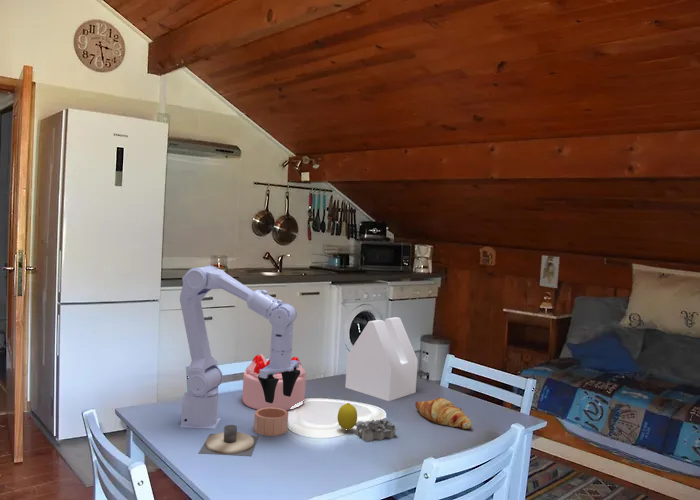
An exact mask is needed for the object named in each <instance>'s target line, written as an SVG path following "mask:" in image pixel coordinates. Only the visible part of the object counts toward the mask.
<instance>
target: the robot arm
mask: <svg viewBox="0 0 700 500" xmlns="http://www.w3.org/2000/svg"><path fill="white" fill-rule="evenodd" d="M181 280H182V287H181V292H180V294H179V303H180V308H181V313H182V316H183V317H182V318H183V323H184V329H185V334H186V338H187V344H188V348H189V354H190V358H191V362H190V364H189V367H188V369H187V372H188V379H187V389H188V390H189V391H186V392H184V394H183V397H182V402H181V413H180V414H181V416H180V417H181V418H180V419H181V421H180V426H179V427H180V428H185V429H186V428H187V429H203V430H204V429H205V430H206V429H207V430H215V429H216V428H217V427H218V425H219V423H220V421H221V417H218V404H219V403H218V402H219V401H218V400H219V386H221V384H222V382H223V380H224V379H223V378H224V376H223V372H222V370H221V369H220V367H219V365H218V361H217V360H216V359H215V358H214V357H213V356H212V352H211V348H210V341H209V337H208V332H207V327H206V321H205V317H204V311H203V307H202V301H203V299H204V298H205V297H206V295H207V294H208V292H210V291H211V290H215V289H216V290H217V289H220V290H224V291H226V292H227V293H229V294H232V295H233V296H235V297H236V298H237V297H238V299H241V300H242V301H244V302H246V304H247V307H248V309H250V310H251V311H253V312H254V313H257V314H258V315H259V316H261V317H263V318H264V319H267V320H269V323H270V325H271V335H270V337H271V339H270V352H269V355H270V356H269V359H270V364H269V365H268V366H266V367H265V368H263V369H261V370H260V375H258V380H259V381H260V383H261V385H262V388H263V392H264V396H265V401H266V402H268V403H273V401H274V395H275V389H276V385H277V383H278V381H279V379H276V378H274V377H273V375H275V374H278V373H281V374H282V379H283V395H285V396H288V397H290V396H291V394H292V391H293V387H294V384H295V382H296V380H297V378H298V376H299V375H300V370H297V369H298V368H299V361H300V360H299V361H296V360H292V361H291V358H293V357H292V355H293V354H292V353H293V339H294V337H293V336H294V322H295V320H296V319H297V316H298V314H297V313H298V312H297V309H296V308H295V307H294V306H293V305H292V304H291V303H289V302H284V303H283V300H281V299H277V298H275V297H273V296H271V295H270V294H268V293H269V292H268V290H266V289H262V290H261V289H256V290H252V289H251V288H249V287H248V286H246V285H245V284H243V283H242V282H240V281H239V280H237V279H236V278H233V277H232V276H231V275H229V274H228V273H226V272H225V271H224V270H223V269H220V268H217V266H214V265H210V264H209V265H206V266H201V267H193V268H190V269H188V271H186V273H185V274H184V275H183V276H182V279H181Z"/></svg>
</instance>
